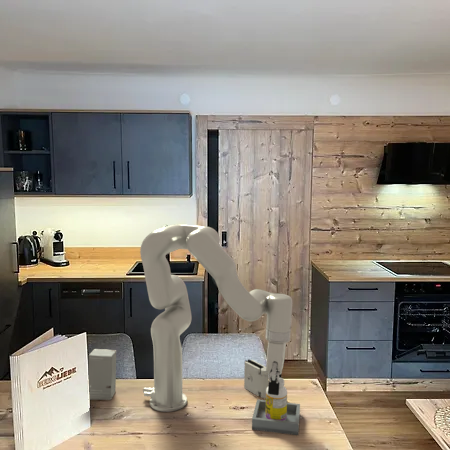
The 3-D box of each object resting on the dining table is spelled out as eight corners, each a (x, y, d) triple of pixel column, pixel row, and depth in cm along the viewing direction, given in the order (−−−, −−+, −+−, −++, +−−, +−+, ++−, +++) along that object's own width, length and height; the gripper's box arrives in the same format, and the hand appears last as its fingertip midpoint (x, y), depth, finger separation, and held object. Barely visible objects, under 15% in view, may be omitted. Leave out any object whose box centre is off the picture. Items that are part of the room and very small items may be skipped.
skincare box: (87, 400, 156) (86, 356, 154) (94, 390, 163) (92, 347, 161) (112, 400, 156) (111, 356, 154) (117, 390, 163) (116, 348, 161)
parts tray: (251, 429, 139) (252, 418, 139) (256, 409, 151) (257, 399, 150) (298, 435, 136) (298, 424, 136) (299, 414, 148) (300, 404, 148)
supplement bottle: (264, 413, 147) (265, 375, 145) (285, 413, 147) (286, 375, 145) (266, 424, 140) (266, 385, 138) (287, 425, 140) (288, 385, 138)
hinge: (280, 396, 160) (280, 369, 158) (271, 402, 156) (272, 374, 154) (248, 384, 168) (248, 358, 167) (239, 389, 164) (239, 363, 163)
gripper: (268, 323, 149) (265, 372, 151) (262, 343, 132) (259, 398, 135) (291, 326, 148) (288, 375, 150) (288, 346, 131) (284, 402, 133)
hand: (274, 386), depth 142 cm, fingers open, 9 cm apart
